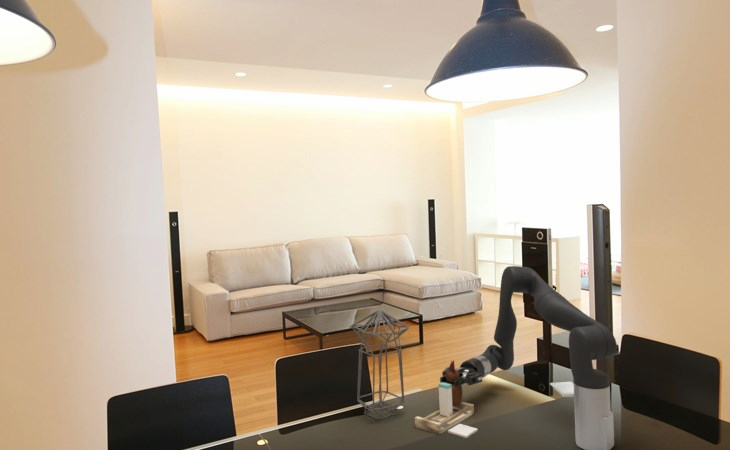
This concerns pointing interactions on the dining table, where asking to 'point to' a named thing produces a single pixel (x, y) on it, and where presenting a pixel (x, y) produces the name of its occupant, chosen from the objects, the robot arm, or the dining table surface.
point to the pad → (462, 430)
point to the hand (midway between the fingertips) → (448, 382)
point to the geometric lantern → (380, 358)
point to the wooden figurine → (450, 378)
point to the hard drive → (564, 388)
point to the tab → (445, 399)
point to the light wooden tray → (444, 419)
